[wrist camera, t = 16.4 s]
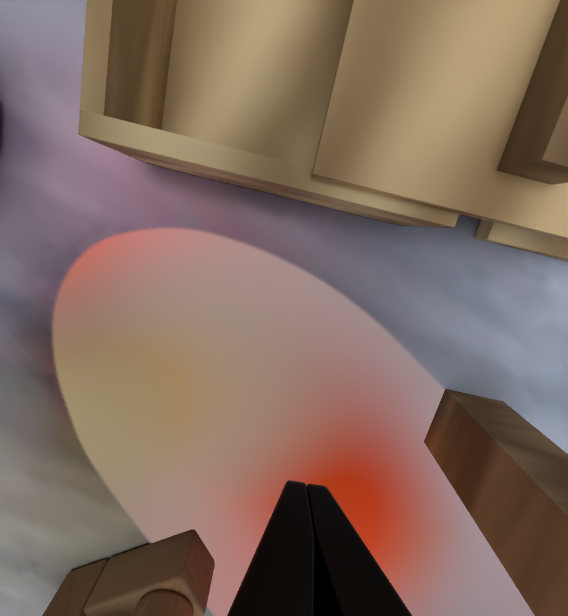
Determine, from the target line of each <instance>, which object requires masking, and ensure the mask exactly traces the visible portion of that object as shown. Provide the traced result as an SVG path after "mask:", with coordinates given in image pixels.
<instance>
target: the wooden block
mask: <svg viewBox="0 0 568 616" xmlns="http://www.w3.org/2000/svg"><path fill="white" fill-rule="evenodd" d="M213 570H214V560H213V558H212V556H211V555H210V553H209V551H208V550H207V548H206V547H205V545H204V544H203V542H202V540H201V539H200V537H199V535H198V534H197V532H196V531H195V530H189V531H186V532H183V533H180V534H178V535H174V536H172V537H169V538H166V539H163V540H160V541H158V542H154V543H151V544H149V545H146V546H143V547H140V548H137V549H134V550H131V551H128V552H126V553H123V554H120V555H117V556H114V557H112V558H111V559H110V560H108V559H104V560H101V561H98V562H95V563H92V564H90V565H87V566H84V567H81V568H78V569H75V570H72V571H71V572H70V573H69V574H68V575H67V576H66V578H65V579H64V581H63V583H62V584H61V586H60V588H59V589H58V591H57V593H56V594H55V596H54V597H53V599H52V601H51V602H50V604H49V606H48V607H47V609H46V611H45V612H44V614H43V615H42V616H203V615H204V613H205V610H206V605H207V600H208V595H209V590H210V585H211V580H212V575H213Z"/></svg>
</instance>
